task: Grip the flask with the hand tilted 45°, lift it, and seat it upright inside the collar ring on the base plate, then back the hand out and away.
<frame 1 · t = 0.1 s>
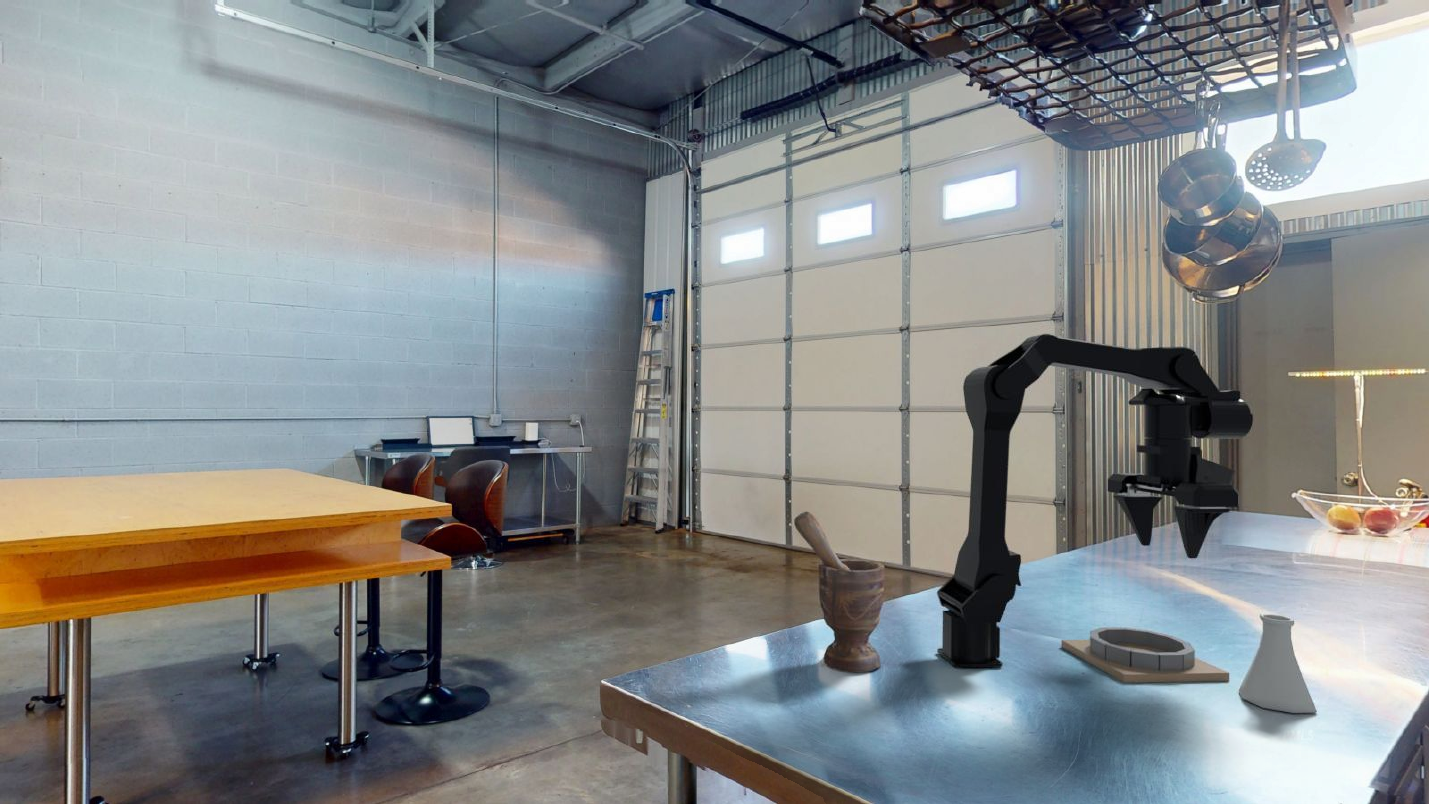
hand: (1167, 551, 102), 15 cm above the table, tool pointing down, fingers open, 9 cm apart
flask: (1276, 704, 86), on the table
duct collar: (1140, 662, 99), on the table
mortar and pestle: (839, 666, 97), on the table
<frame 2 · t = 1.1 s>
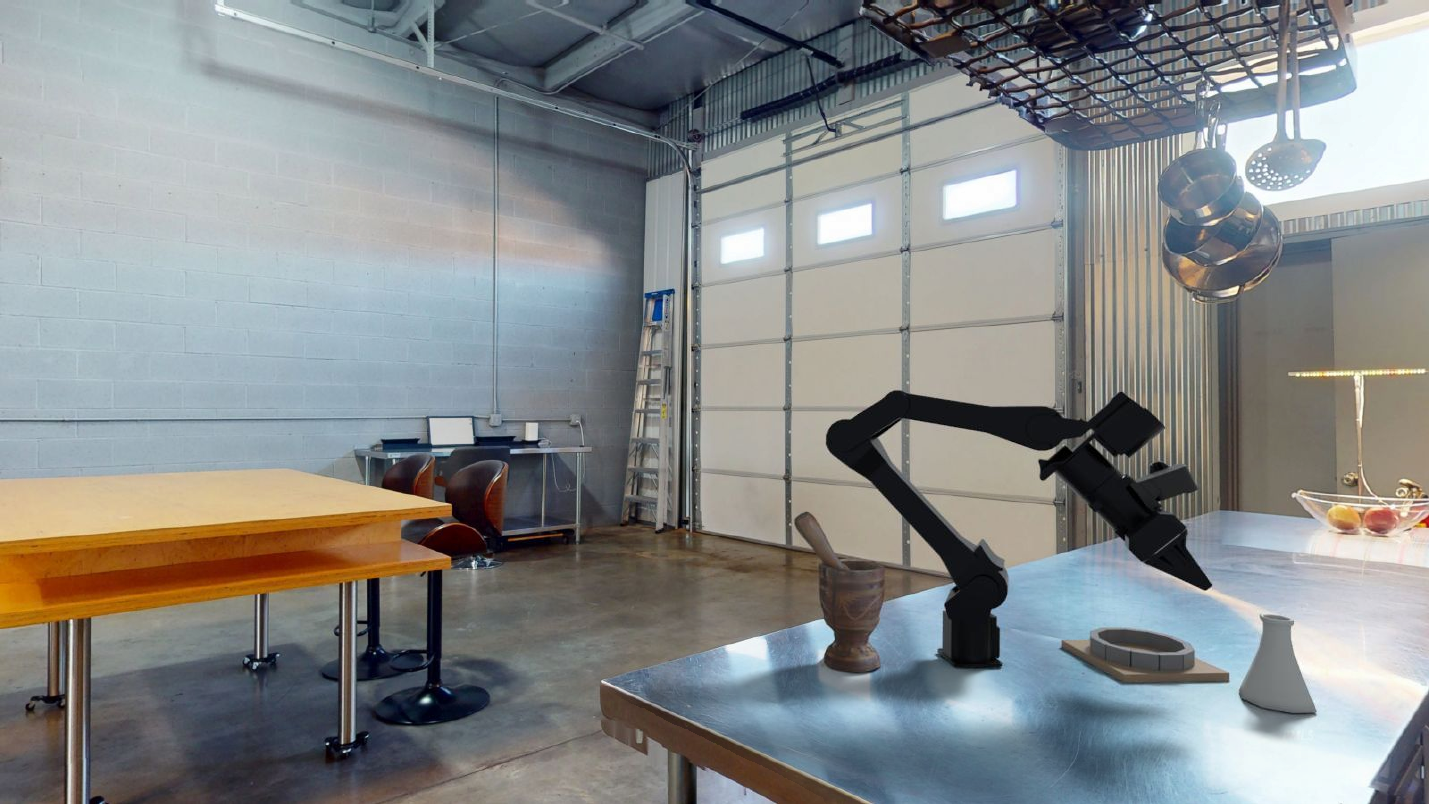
hand: (1200, 580, 89), 13 cm above the table, tool tilted 45°, fingers open, 9 cm apart
nothing on the table moved.
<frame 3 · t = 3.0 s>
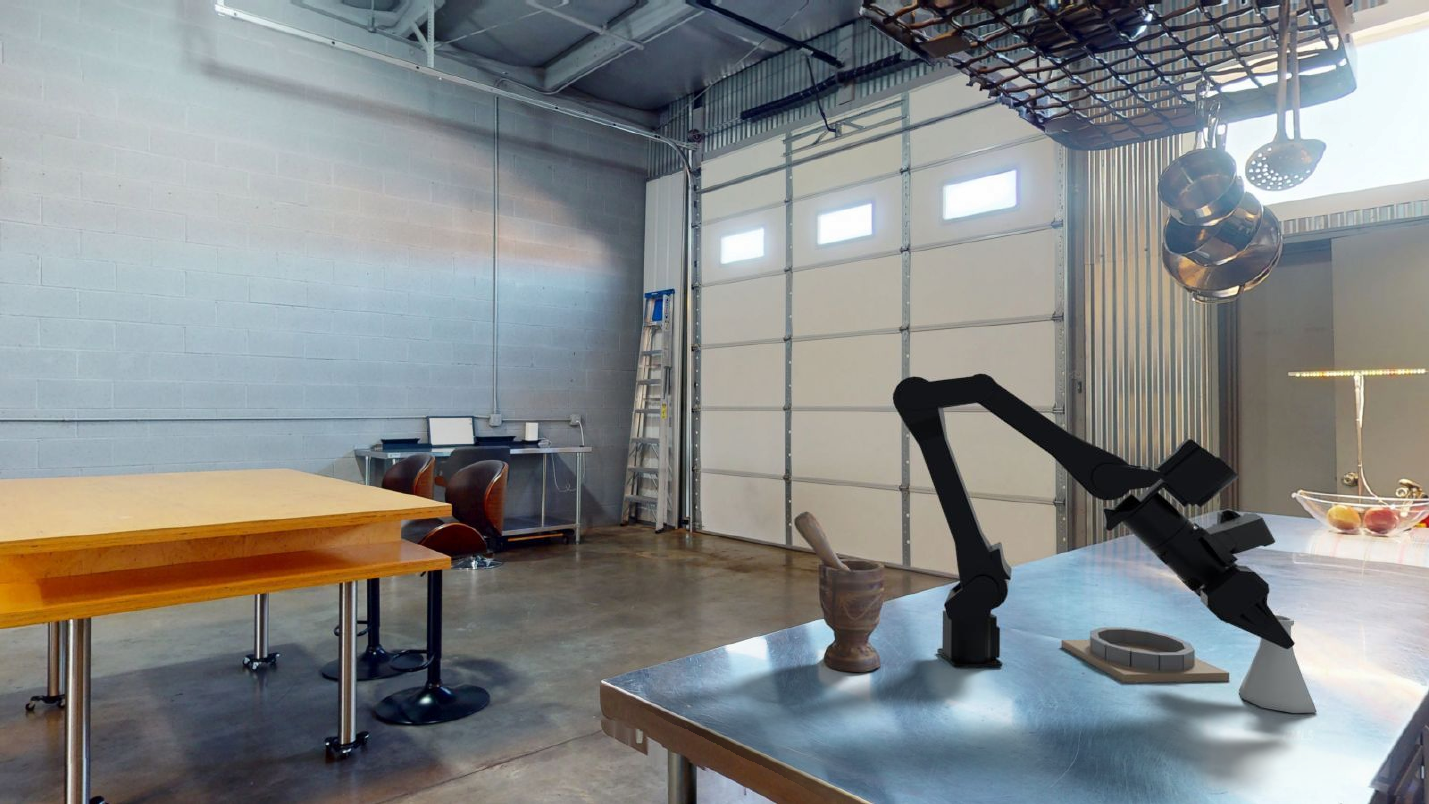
hand: (1277, 635, 86), 8 cm above the table, tool tilted 45°, fingers open, 9 cm apart
nothing on the table moved.
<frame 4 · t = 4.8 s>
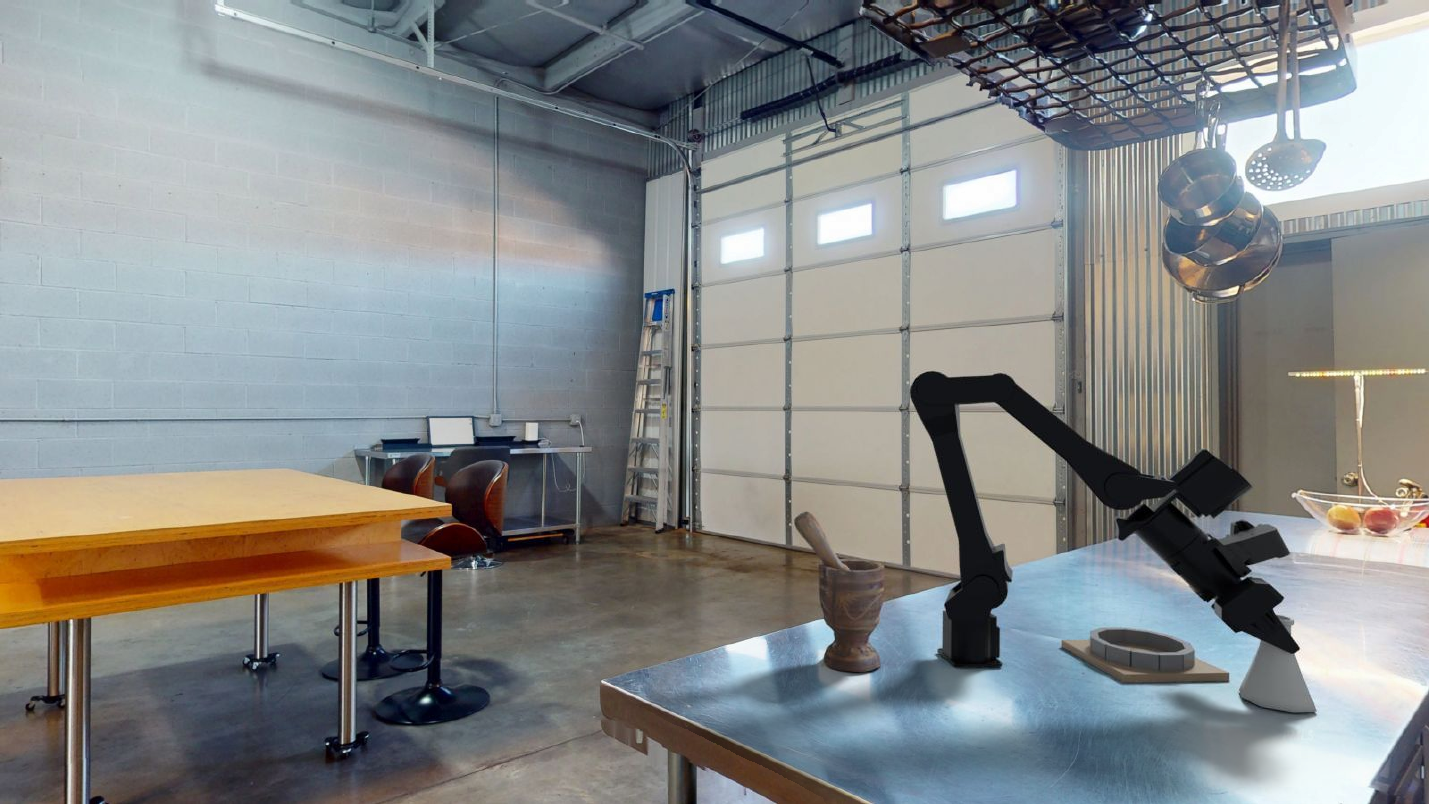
hand: (1291, 647, 85), 7 cm above the table, tool tilted 45°, fingers closed on flask, 3 cm apart
flask: (1276, 704, 86), on the table, touching gripper
everything else where it was.
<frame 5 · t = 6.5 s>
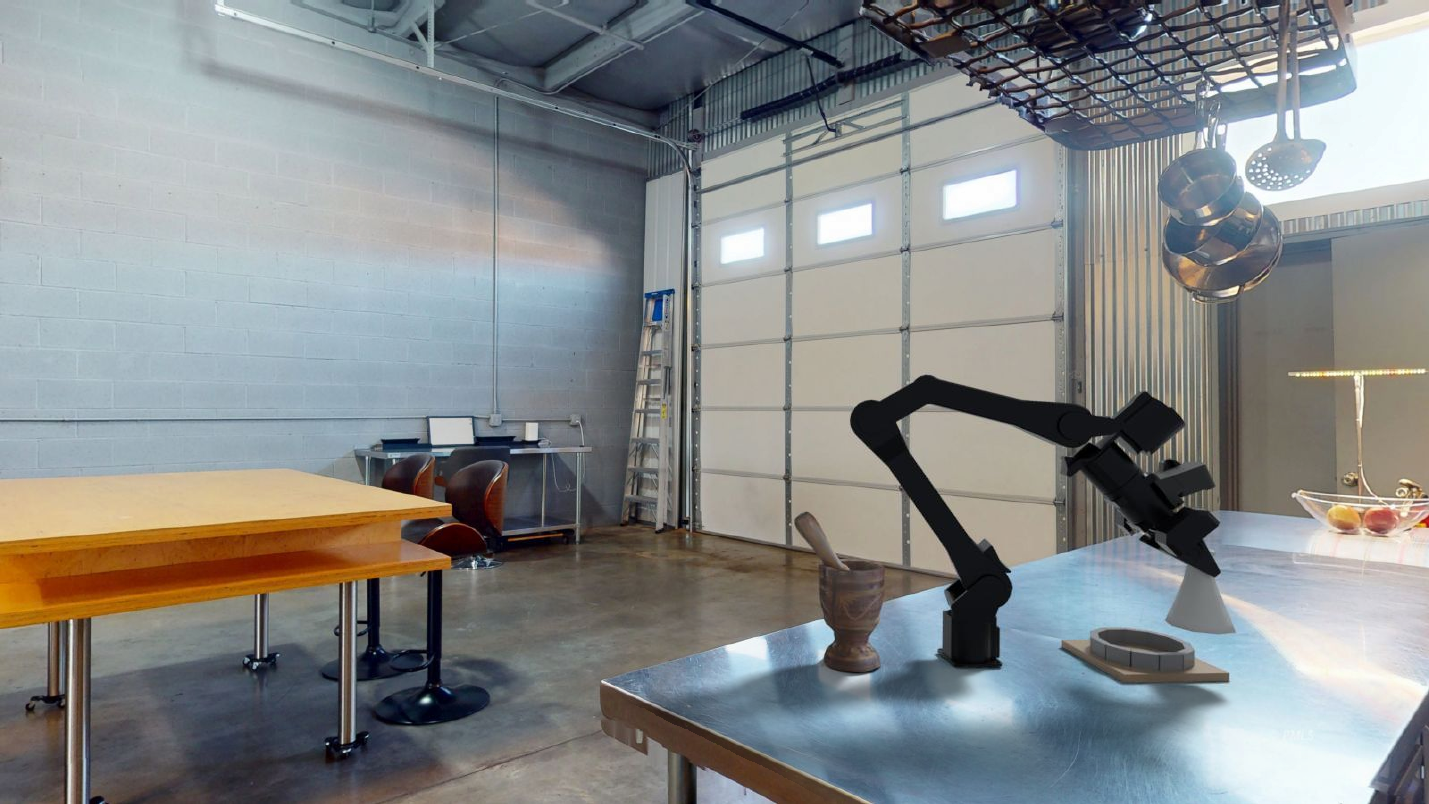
hand: (1211, 572, 94), 14 cm above the table, tool tilted 45°, fingers closed on flask, 3 cm apart
flask: (1199, 630, 94), point 6 cm above the table, touching gripper
everything else where it was.
when the fingers open (9 cm above the table, at t = 8.7 s): flask stays where it is, resting on duct collar.
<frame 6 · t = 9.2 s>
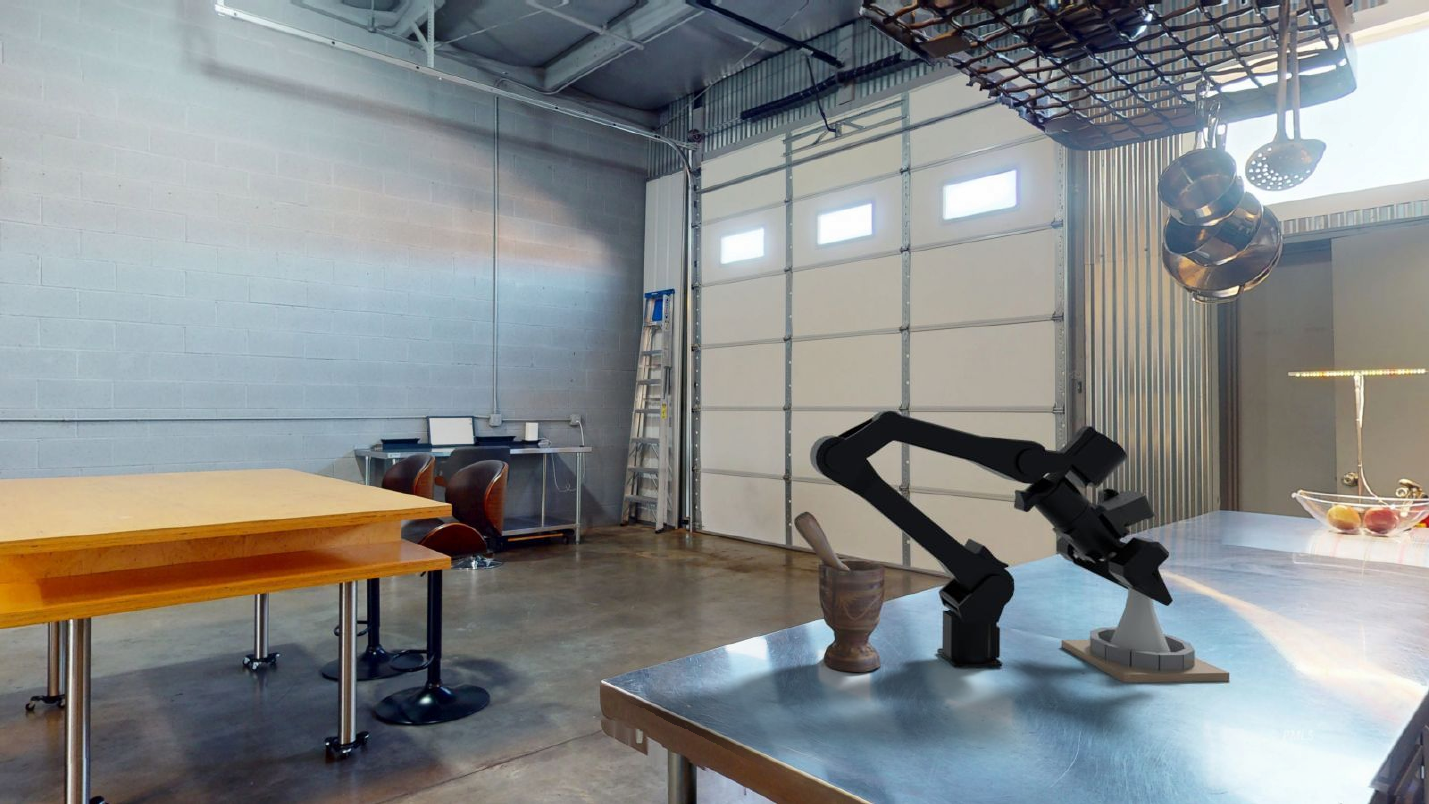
hand: (1150, 595, 99), 9 cm above the table, tool tilted 45°, fingers open, 8 cm apart
flask: (1139, 656, 99), point 1 cm above the table, touching duct collar
everything else where it was.
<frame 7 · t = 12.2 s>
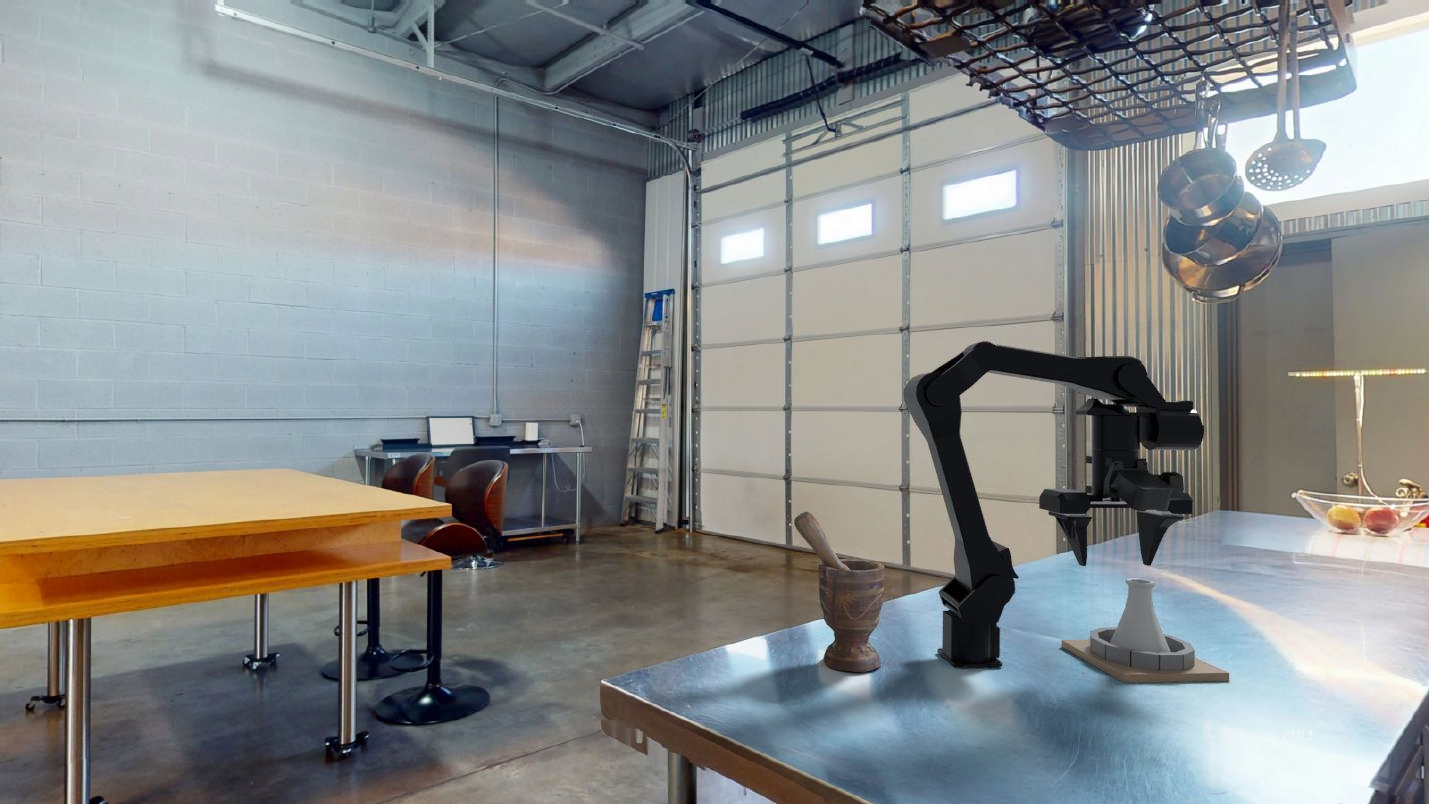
hand: (1114, 565, 99), 13 cm above the table, tool pointing down, fingers open, 9 cm apart
nothing on the table moved.
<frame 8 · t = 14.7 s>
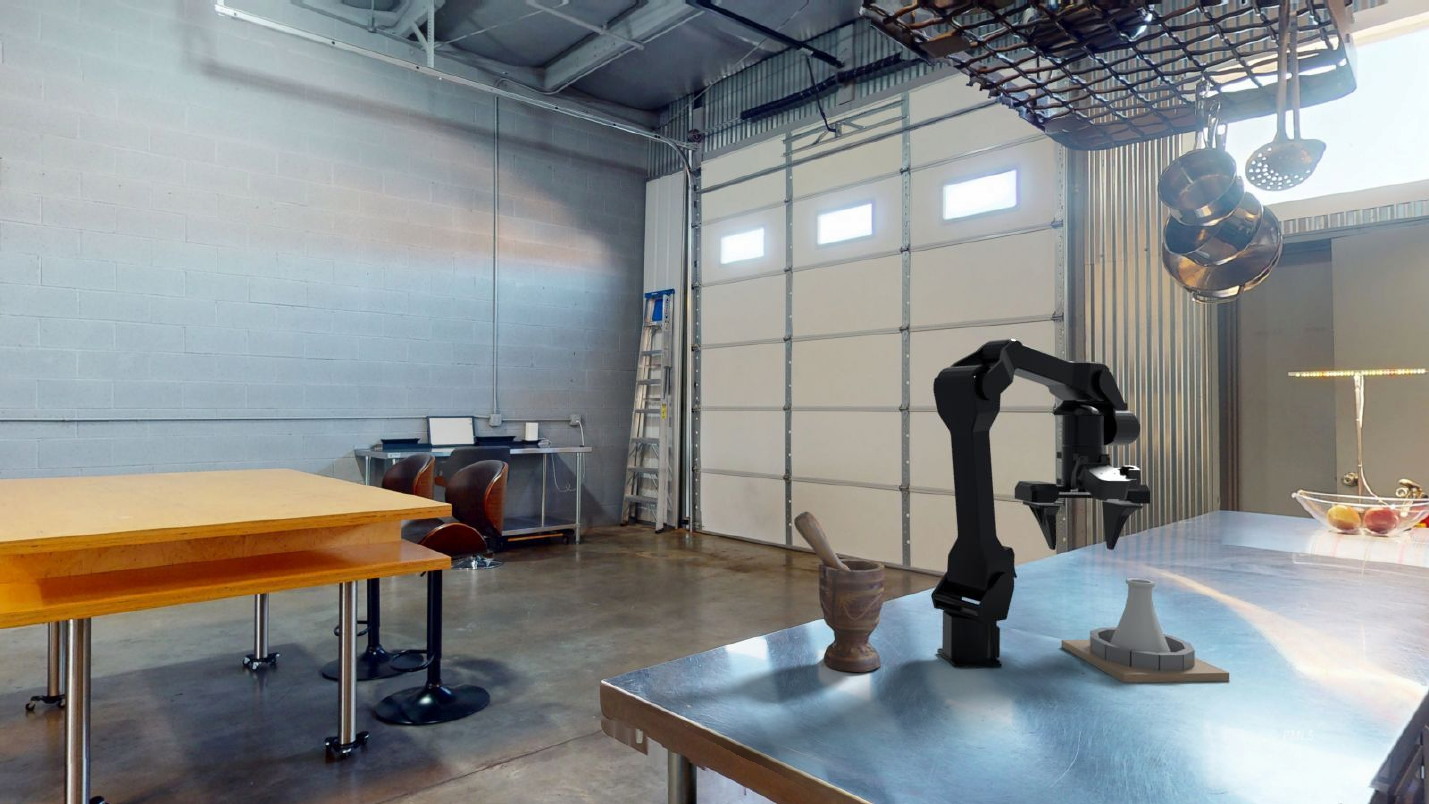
hand: (1081, 549, 111), 13 cm above the table, tool pointing down, fingers open, 9 cm apart
nothing on the table moved.
at the end: flask 0.0 cm off-centre on the duct collar, point 0.8 cm above the duct collar's base; flask tilted 0°; the gripper is holding nothing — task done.
